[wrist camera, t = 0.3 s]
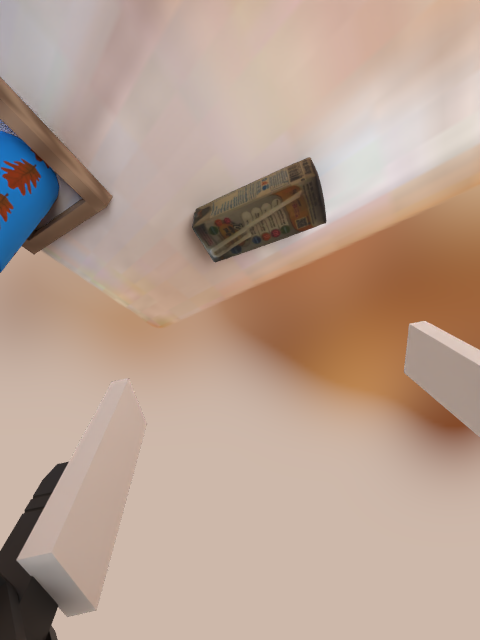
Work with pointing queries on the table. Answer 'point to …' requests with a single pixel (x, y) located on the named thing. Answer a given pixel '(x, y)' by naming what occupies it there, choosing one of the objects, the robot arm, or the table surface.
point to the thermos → (22, 193)
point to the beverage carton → (262, 212)
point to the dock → (51, 150)
